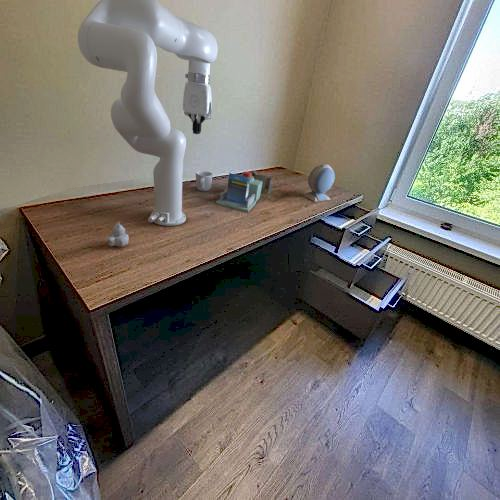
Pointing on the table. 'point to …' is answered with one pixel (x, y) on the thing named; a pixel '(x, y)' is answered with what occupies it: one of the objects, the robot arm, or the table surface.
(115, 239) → the grey lumpy cone shape
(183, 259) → the table surface
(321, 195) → the alarm clock
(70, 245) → the table surface
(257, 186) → the red push button box
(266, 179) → the architectural model on board
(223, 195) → the drip tray
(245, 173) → the button
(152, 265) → the table surface
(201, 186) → the cup
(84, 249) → the table surface
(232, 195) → the label tape box
